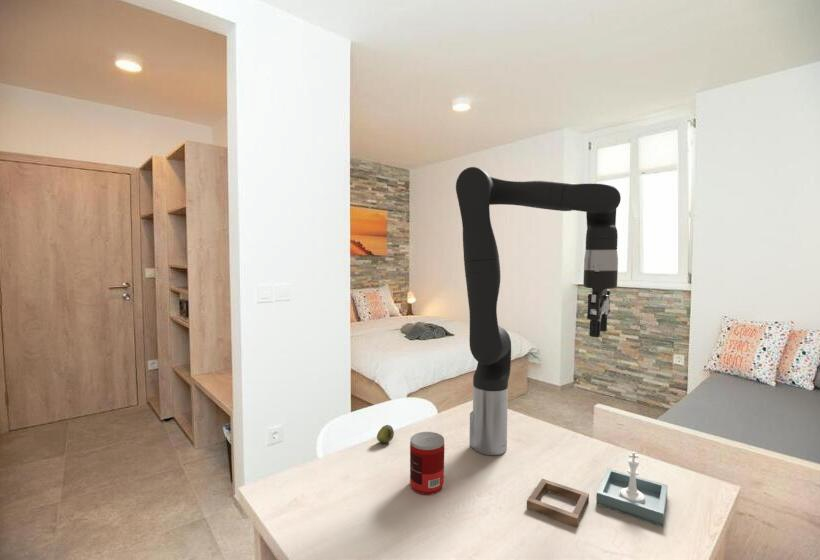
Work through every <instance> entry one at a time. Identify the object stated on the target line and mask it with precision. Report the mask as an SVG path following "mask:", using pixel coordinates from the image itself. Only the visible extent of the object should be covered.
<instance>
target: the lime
mask: <svg viewBox="0 0 820 560" xmlns="http://www.w3.org/2000/svg"><path fill="white" fill-rule="evenodd" d="M394 435H395V431H394V427H392V426H391V425H389V424H385V425H383V426H382V427H381V428H380V429H379V430H378V432H377V435H376V440H377V441H378V442H379V443H382V444H387V443H389V442H391V441H392V440H393V438H394Z"/></svg>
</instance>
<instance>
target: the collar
mask: <svg viewBox="0 0 820 560" xmlns="http://www.w3.org/2000/svg"><path fill="white" fill-rule="evenodd" d="M545 492H549V493H551V494H555V495H558V496H560V497H564V498H567V499H569V500H572V501H575V502H577V503H576V505H575V507H574V509H573V511H572V512H571V511H568V510H565V509H563V508H561V507H557V506H554V505H551V504H549V503H546V502H543V501H541V499H542V497H544V496H543V495H544V494H545ZM589 496H590V493H587V492H585V491H582V490H579V489H576V488H573V487H569V486H566V485H563V484H560V483H557V482H554V481H551V480H548V479H544V478H541V479H540V481H539V482H538V483H537V485H536V487H535V488H534V489H533V491H532V492H531V494H530V495H529V497H528V498H527V499H526V509H527V510H530V511H533V512H535V513H537V514H540V515H543V516H546V517H548V518H550V519H553V520H557V521H558V522H560V523H561V522H562V523H564V524H567V525H570V526H572V527H575V528H578V527H579V525H580V522H581V521H582V517H583V515H584V513H585V511H586V509H587V507H588V505H589V502H590V497H589Z"/></svg>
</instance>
